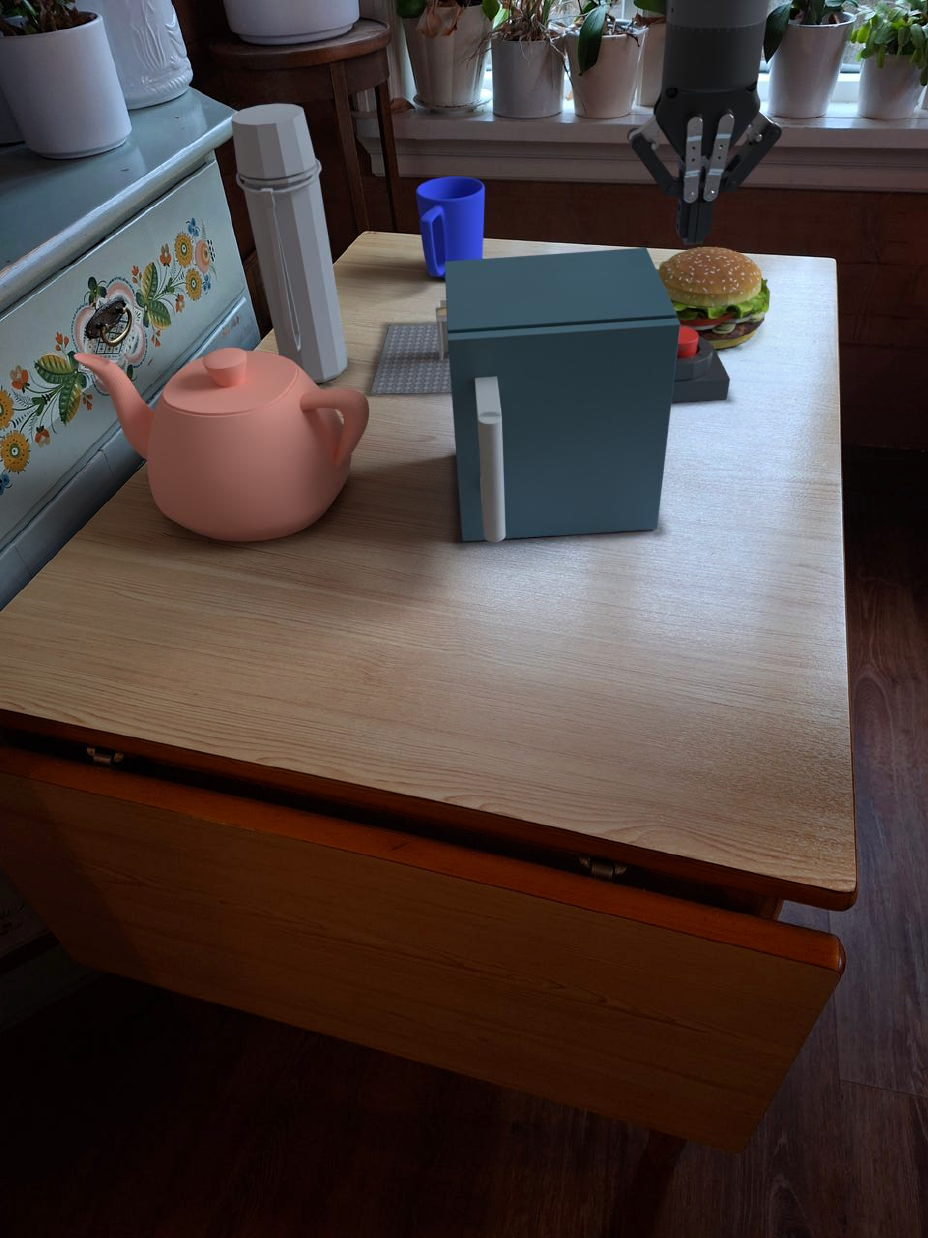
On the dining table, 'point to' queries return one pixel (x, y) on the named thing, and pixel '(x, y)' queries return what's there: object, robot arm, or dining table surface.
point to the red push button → (687, 342)
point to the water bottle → (291, 235)
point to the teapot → (240, 442)
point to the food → (716, 294)
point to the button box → (700, 376)
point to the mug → (451, 221)
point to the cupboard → (554, 291)
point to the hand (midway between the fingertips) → (692, 240)
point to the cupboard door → (562, 427)
